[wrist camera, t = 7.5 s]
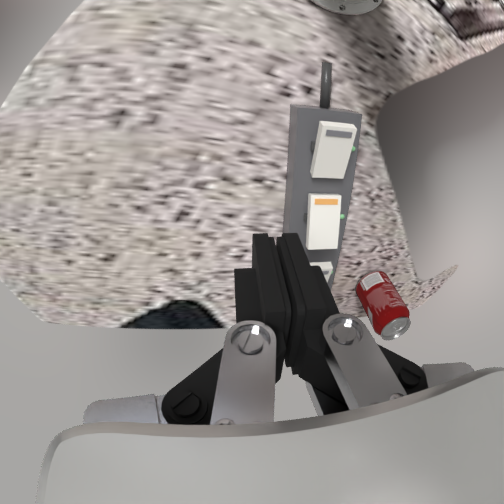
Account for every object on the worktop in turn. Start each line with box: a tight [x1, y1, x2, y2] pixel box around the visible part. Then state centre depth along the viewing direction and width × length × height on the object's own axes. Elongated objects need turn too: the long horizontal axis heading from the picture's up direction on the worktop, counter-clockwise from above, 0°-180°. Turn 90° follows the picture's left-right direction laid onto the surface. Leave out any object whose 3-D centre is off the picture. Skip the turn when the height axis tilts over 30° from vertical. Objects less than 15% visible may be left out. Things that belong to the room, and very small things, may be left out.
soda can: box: [356, 271, 411, 340], centre depth 45 cm, size 7×7×12 cm
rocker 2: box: [306, 193, 341, 250], centre depth 35 cm, size 7×4×1 cm, turn 0°
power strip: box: [283, 62, 362, 291], centre depth 36 cm, size 34×8×5 cm, turn 179°
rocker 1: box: [310, 121, 357, 179], centre depth 30 cm, size 7×4×1 cm, turn 179°
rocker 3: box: [310, 262, 333, 282], centre depth 40 cm, size 7×4×1 cm, turn 179°
